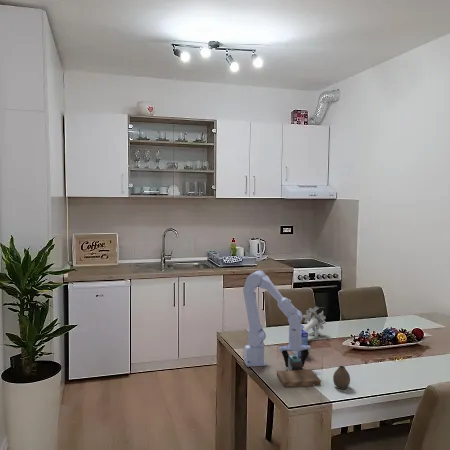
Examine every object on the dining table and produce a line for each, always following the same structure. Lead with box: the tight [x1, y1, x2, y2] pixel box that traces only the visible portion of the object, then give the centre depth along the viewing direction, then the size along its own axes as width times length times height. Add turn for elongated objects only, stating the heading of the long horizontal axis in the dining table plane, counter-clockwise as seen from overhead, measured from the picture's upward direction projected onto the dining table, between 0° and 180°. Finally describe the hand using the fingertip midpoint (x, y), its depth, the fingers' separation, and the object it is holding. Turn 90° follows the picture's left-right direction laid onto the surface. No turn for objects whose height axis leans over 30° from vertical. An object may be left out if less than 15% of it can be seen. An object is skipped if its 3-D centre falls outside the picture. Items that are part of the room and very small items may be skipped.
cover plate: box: [289, 354, 301, 362], centre depth 205 cm, size 4×7×2 cm, turn 10°
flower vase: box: [301, 305, 327, 338], centre depth 250 cm, size 13×18×25 cm
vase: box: [332, 365, 351, 390], centre depth 187 cm, size 7×7×9 cm
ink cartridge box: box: [290, 324, 309, 358], centre depth 225 cm, size 10×6×14 cm, turn 16°
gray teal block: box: [287, 356, 303, 370], centre depth 206 cm, size 5×8×5 cm, turn 9°
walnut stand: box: [276, 368, 322, 388], centre depth 193 cm, size 16×12×2 cm
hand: (294, 366), depth 206 cm, fingers open, 7 cm apart
